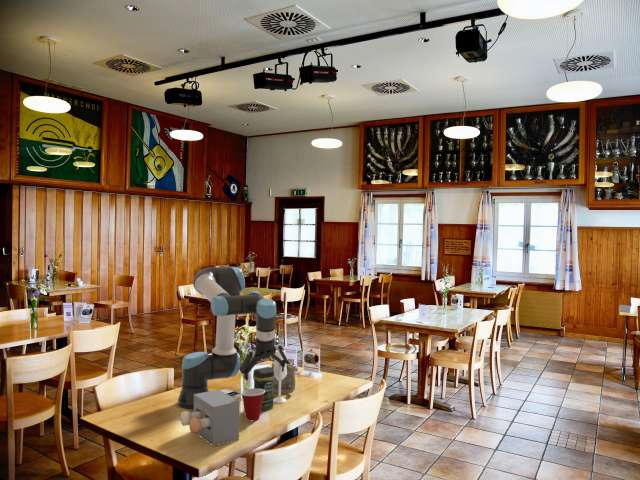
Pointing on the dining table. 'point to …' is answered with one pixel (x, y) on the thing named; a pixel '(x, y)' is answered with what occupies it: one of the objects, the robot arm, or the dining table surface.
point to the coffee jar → (265, 385)
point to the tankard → (286, 380)
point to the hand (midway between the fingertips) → (263, 381)
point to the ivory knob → (189, 417)
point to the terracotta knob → (199, 424)
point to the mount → (218, 416)
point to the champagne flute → (284, 373)
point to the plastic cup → (252, 403)
